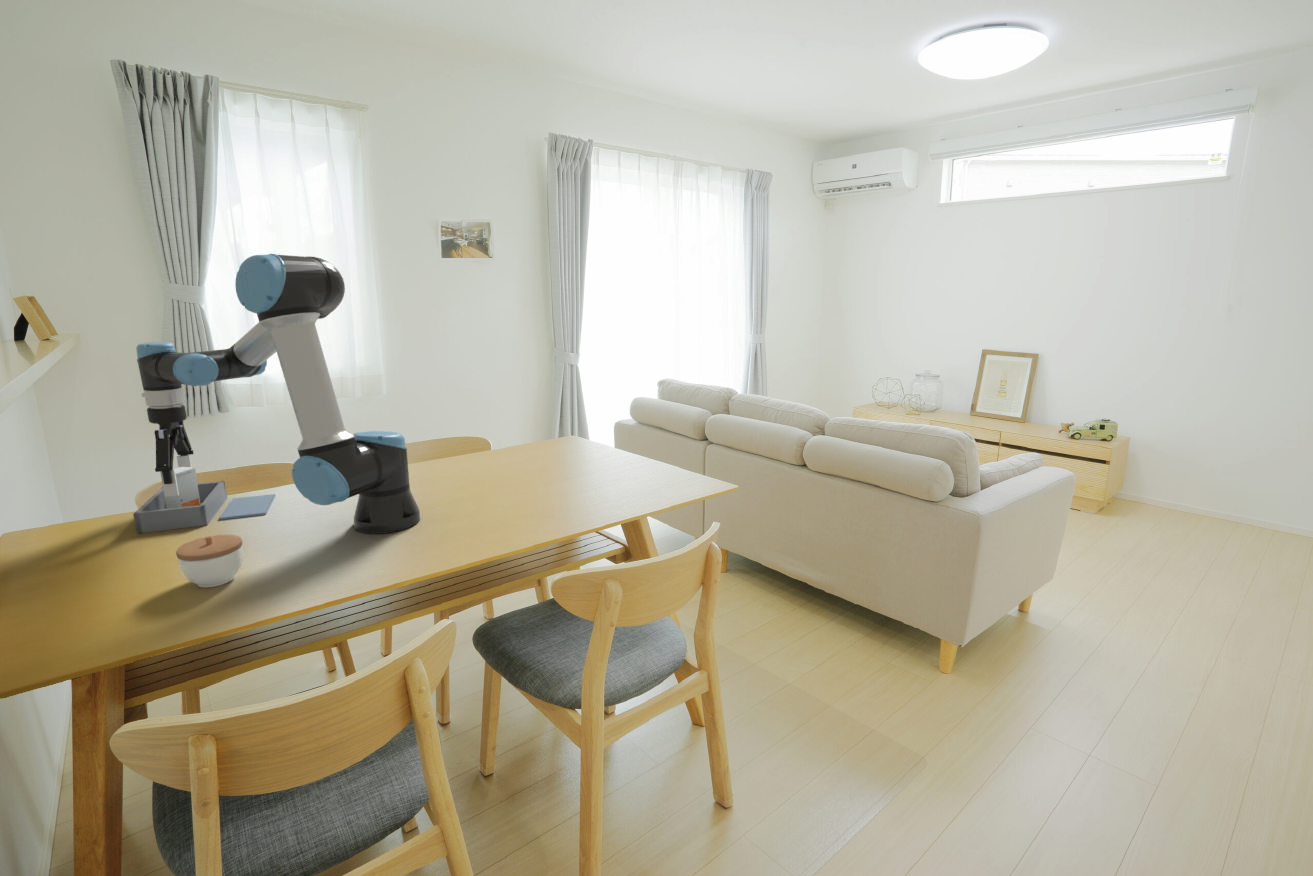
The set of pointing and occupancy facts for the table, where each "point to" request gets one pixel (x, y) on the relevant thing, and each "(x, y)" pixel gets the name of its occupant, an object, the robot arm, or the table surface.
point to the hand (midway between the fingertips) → (179, 487)
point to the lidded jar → (211, 559)
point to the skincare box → (184, 489)
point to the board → (248, 506)
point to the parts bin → (180, 510)
